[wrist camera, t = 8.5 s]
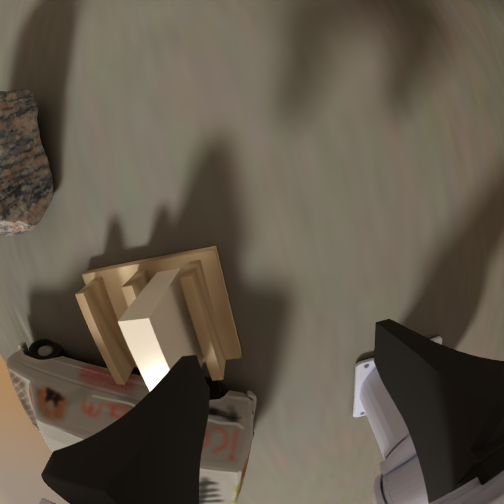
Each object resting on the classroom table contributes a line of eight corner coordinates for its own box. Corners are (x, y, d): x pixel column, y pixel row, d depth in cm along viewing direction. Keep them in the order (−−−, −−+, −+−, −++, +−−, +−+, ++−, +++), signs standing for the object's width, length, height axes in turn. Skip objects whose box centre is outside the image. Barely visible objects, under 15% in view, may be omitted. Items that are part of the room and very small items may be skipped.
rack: (216, 245, 20) (208, 264, 16) (241, 350, 22) (240, 383, 19) (87, 270, 20) (61, 289, 17) (124, 361, 23) (108, 388, 19)
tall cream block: (180, 268, 19) (149, 318, 13) (205, 350, 21) (191, 416, 15) (157, 272, 19) (117, 321, 13) (184, 353, 21) (164, 416, 15)
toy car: (28, 330, 23) (-25, 382, 13) (258, 376, 24) (261, 471, 14) (52, 399, 26) (18, 451, 16) (246, 442, 27) (246, 517, 17)
